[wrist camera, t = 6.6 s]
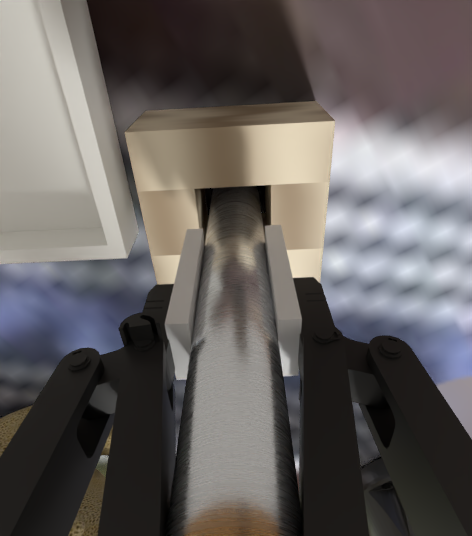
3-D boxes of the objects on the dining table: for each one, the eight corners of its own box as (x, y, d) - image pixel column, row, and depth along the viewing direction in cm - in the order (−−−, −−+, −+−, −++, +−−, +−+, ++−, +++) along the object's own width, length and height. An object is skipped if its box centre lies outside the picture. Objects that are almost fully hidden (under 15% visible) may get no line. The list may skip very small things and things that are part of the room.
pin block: (315, 101, 21) (335, 120, 17) (306, 248, 27) (319, 289, 23) (145, 110, 22) (124, 132, 18) (171, 254, 27) (159, 296, 23)
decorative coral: (-331, 480, 23) (-229, 1023, 13) (14, 281, 34) (210, 478, 24) (-85, 535, 42) (34, 768, 32) (83, 394, 53) (209, 532, 43)
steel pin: (266, 165, 22) (360, 599, 6) (267, 225, 24) (334, 662, 8) (200, 169, 22) (96, 604, 6) (207, 227, 24) (146, 664, 8)
